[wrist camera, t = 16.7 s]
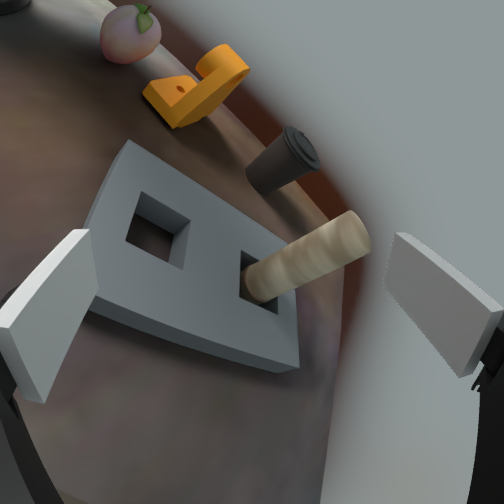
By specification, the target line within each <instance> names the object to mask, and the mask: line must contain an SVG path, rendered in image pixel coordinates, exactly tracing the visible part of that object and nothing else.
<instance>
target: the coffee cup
mask: <svg viewBox="0 0 504 504" xmlns="http://www.w3.org/2000/svg"><path fill="white" fill-rule="evenodd" d="M319 168H320V160H319V158H318V156H317V153H316V151H315V149H314V147H313V145H312V144H311V142H310V141H309V140H308V139H307V138H306V137H305V136H304V134H303V133H302V132H300V131H298V130H297V129H296V128H294V127H291V126H289V127H284V129H283V133H282V134H281V135H280V136H279V137H278V138H276V139H275V140H274V141H273V142H272V143H271V144H270V145H269V146H268V147H267V148H266V149H265V150H264V151H263V152H262V153H261V154H260V155H259V156H258V157H257V158H256V159H255V160H254V161H253V162H252V163H251V164H250V165H249V166H248V167H247V168H246V175H247V178H248V180H249V182H250V183H251V185H252V186H253V187H254V188H255V189H256V190H257V191H258V192H259V193H261V194H264V195H267V194H269V193H271V192H273V191H275V190H276V189H278V188H280V187H282V186H284V185H286V184H288V183H290V182H292V181H294V180H296V179H298V178H300V177H302V176H303V175H306V174H308V173H309V172H312V171H313V172H318V171H319Z"/></svg>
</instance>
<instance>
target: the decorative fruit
mask: <svg viewBox="0 0 504 504" xmlns="http://www.w3.org/2000/svg"><path fill="white" fill-rule="evenodd" d="M150 8H151V6H149V7H148V8H147V7H146V6H144V5H141V4H139V3H136V4H134V5H127V6H121V7H118V8H116V9H114V10H113V11H111V12H110V13H109V14H107V16H106V17H105V19H104V21H103V23H102V27H101V31H100V44H101V47H102V51H103V54H104V56H105V57H106V58H107V60H109V61H111V62H114V63H118V64H129V63H133V62H136V61H139V60H141V59H143V58H144V57H146V56H148V55H149V54H150V53H152V52H153V51H154V50H155V48H156V47H157V46H158V44H159V41H160V38H161V28H160V24H159V22H158V20H157V19H156V17H154V15H152V14H151V13H150V11H149V9H150Z"/></svg>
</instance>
